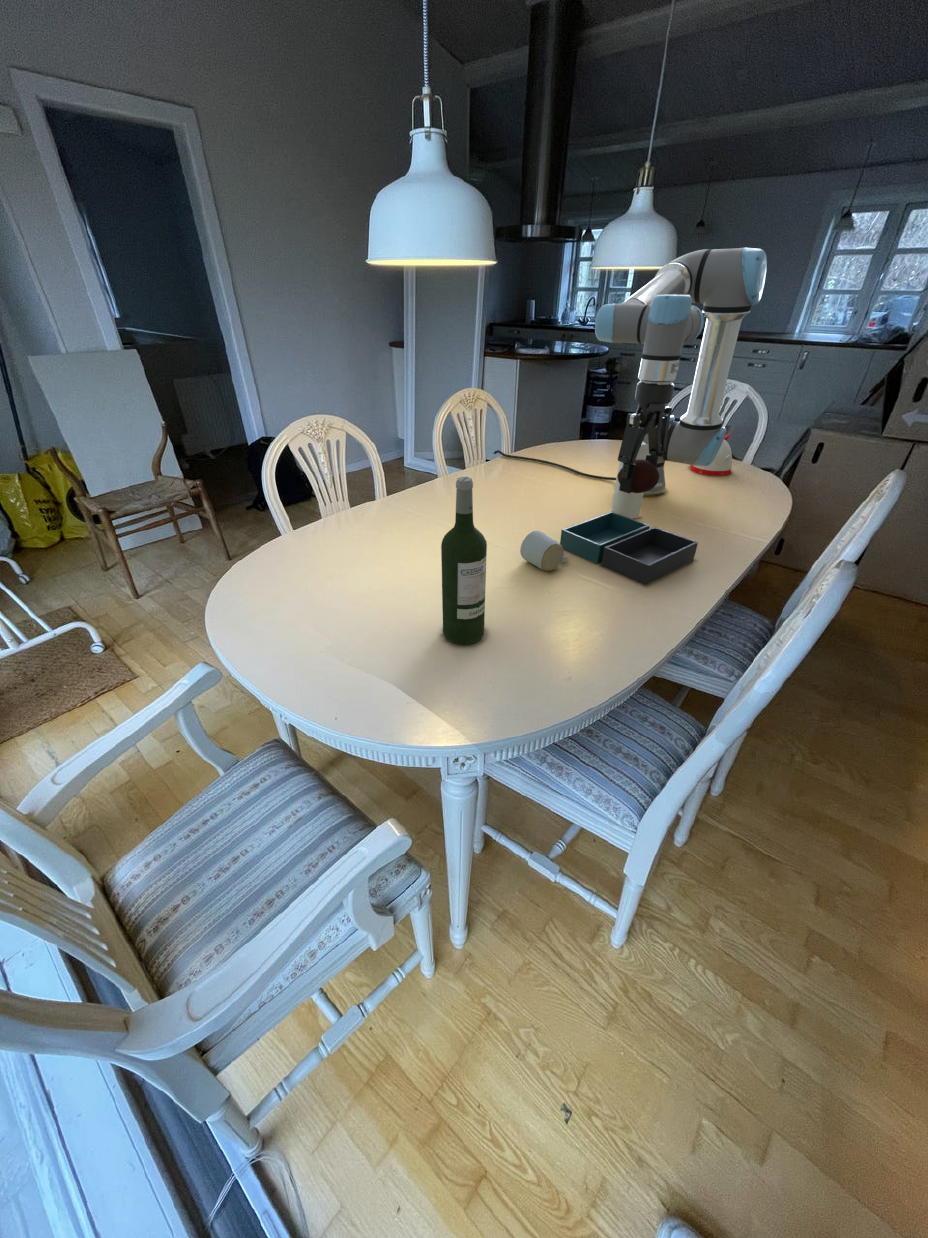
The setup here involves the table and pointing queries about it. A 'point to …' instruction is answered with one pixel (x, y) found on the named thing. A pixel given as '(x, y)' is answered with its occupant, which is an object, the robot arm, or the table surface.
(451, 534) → the wine bottle
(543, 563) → the ceramic mug
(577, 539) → the left tote
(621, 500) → the paper towel roll
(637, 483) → the potato
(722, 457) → the kitchen timer
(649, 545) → the box
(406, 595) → the table surface
